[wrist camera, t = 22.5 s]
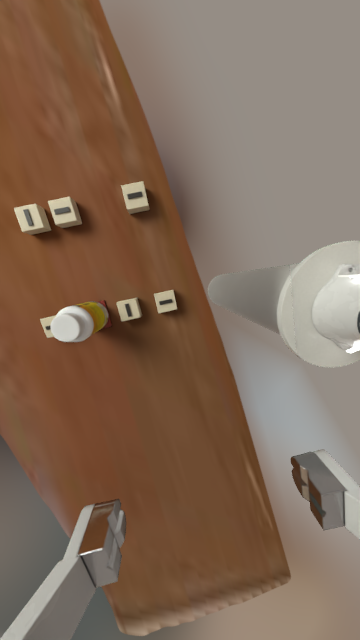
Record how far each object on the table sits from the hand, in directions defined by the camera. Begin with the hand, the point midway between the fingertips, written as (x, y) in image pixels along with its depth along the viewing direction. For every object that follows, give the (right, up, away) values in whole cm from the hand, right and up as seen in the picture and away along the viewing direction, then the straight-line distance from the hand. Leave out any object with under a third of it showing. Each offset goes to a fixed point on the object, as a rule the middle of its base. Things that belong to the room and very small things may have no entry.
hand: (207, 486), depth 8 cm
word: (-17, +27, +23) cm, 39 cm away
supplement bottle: (-18, +9, +27) cm, 33 cm away
